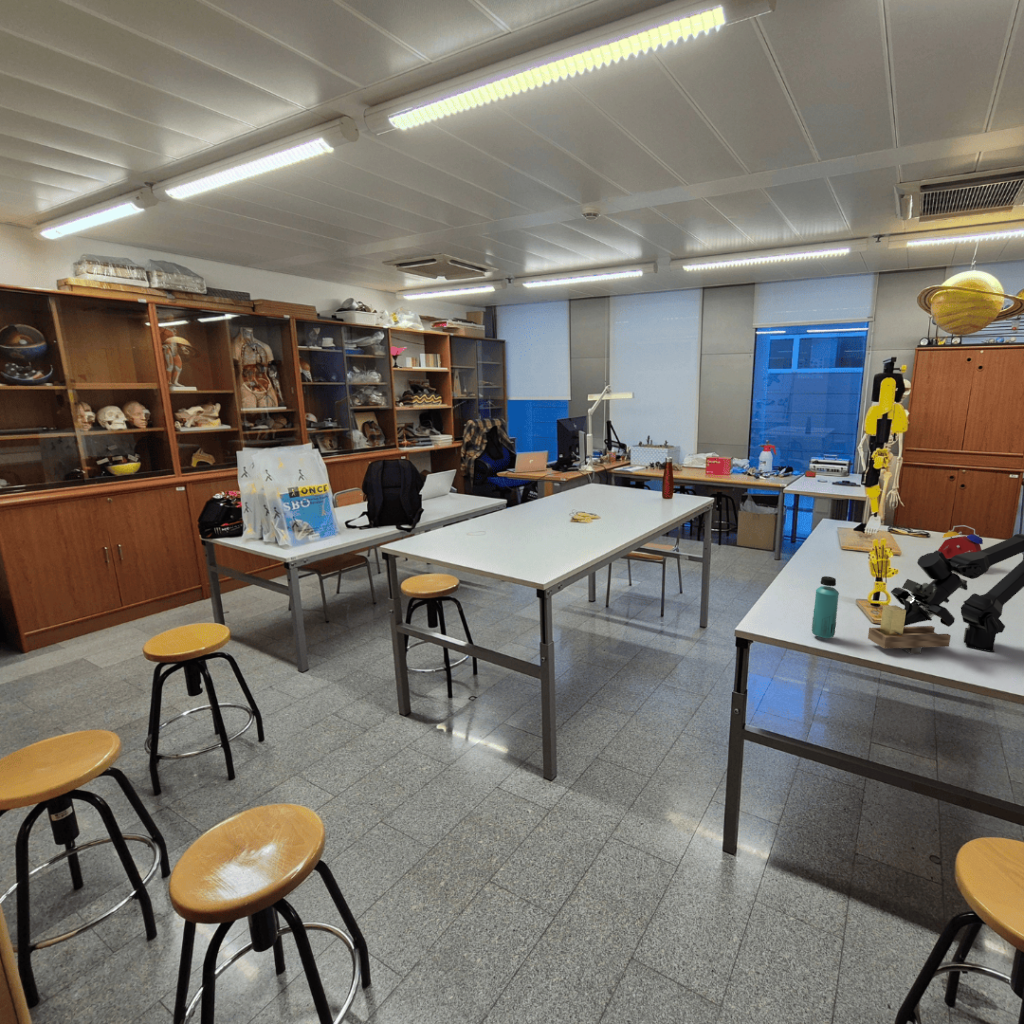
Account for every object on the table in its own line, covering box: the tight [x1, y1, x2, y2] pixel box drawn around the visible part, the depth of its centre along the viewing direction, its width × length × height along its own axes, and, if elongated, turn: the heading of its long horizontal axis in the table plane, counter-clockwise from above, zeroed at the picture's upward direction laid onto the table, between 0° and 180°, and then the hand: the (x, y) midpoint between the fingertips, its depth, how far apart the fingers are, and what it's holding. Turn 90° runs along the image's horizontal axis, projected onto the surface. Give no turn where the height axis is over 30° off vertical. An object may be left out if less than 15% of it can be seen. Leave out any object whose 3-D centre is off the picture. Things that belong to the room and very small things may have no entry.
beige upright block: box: [879, 604, 906, 636], centre depth 164 cm, size 4×7×9 cm, turn 4°
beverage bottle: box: [811, 575, 840, 639], centre depth 172 cm, size 6×7×20 cm
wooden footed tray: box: [867, 625, 951, 655], centre depth 166 cm, size 20×7×6 cm, turn 94°
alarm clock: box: [937, 524, 984, 559], centre depth 241 cm, size 15×9×20 cm, turn 35°
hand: (899, 625), depth 165 cm, fingers closed, pressing on beige upright block
